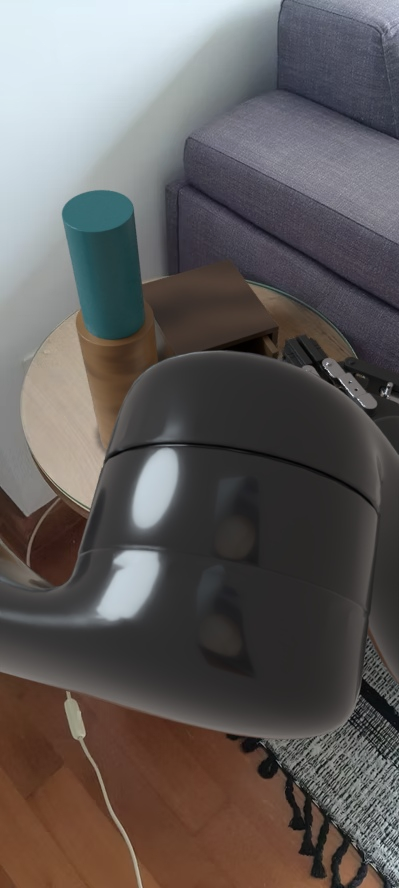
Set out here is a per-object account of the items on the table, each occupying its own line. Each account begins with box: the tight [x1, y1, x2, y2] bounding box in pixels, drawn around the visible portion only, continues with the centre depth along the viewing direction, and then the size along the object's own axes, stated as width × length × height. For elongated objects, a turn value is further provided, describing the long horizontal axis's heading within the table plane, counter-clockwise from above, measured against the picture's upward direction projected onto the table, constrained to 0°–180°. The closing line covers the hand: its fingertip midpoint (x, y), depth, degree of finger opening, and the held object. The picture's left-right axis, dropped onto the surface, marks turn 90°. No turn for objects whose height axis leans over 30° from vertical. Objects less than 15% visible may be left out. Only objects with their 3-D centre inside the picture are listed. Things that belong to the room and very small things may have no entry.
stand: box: [75, 301, 158, 450], centre depth 74 cm, size 8×8×18 cm
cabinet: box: [142, 258, 280, 362], centre depth 85 cm, size 14×13×9 cm
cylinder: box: [61, 189, 145, 340], centre depth 62 cm, size 6×6×12 cm
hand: (293, 343), depth 62 cm, fingers closed
